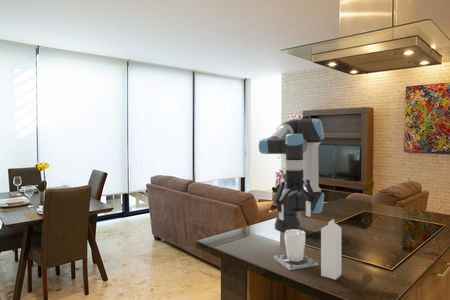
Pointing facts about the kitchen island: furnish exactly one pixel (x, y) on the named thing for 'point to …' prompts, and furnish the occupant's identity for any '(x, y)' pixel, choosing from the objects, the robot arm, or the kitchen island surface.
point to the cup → (295, 244)
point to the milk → (331, 250)
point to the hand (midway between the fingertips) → (295, 217)
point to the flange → (295, 265)
